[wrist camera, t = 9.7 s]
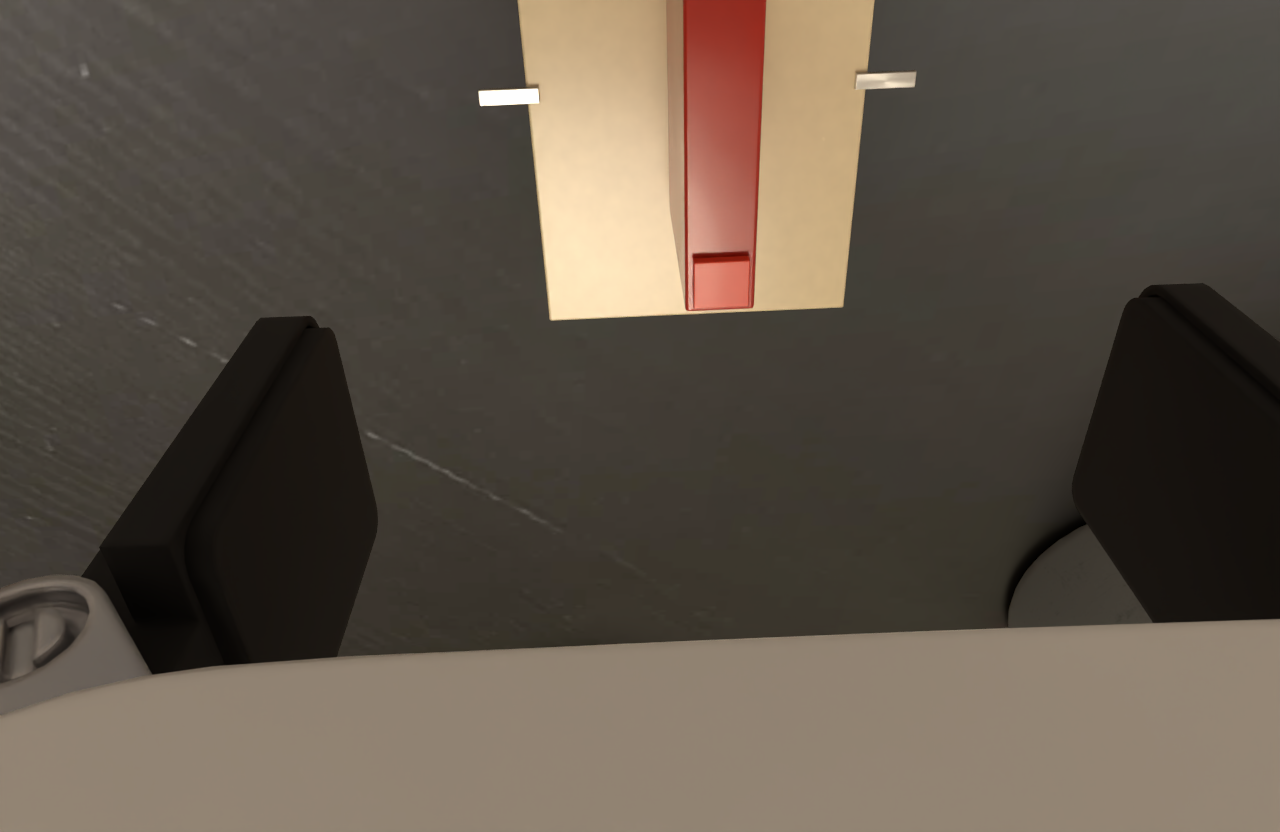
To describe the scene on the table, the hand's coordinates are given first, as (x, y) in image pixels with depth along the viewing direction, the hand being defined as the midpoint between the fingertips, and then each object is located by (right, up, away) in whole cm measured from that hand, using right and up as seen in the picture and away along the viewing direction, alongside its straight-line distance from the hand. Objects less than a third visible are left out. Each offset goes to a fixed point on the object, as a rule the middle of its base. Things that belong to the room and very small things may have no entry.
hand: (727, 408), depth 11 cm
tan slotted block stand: (0, +10, +14) cm, 17 cm away
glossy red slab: (0, +8, +10) cm, 13 cm away
